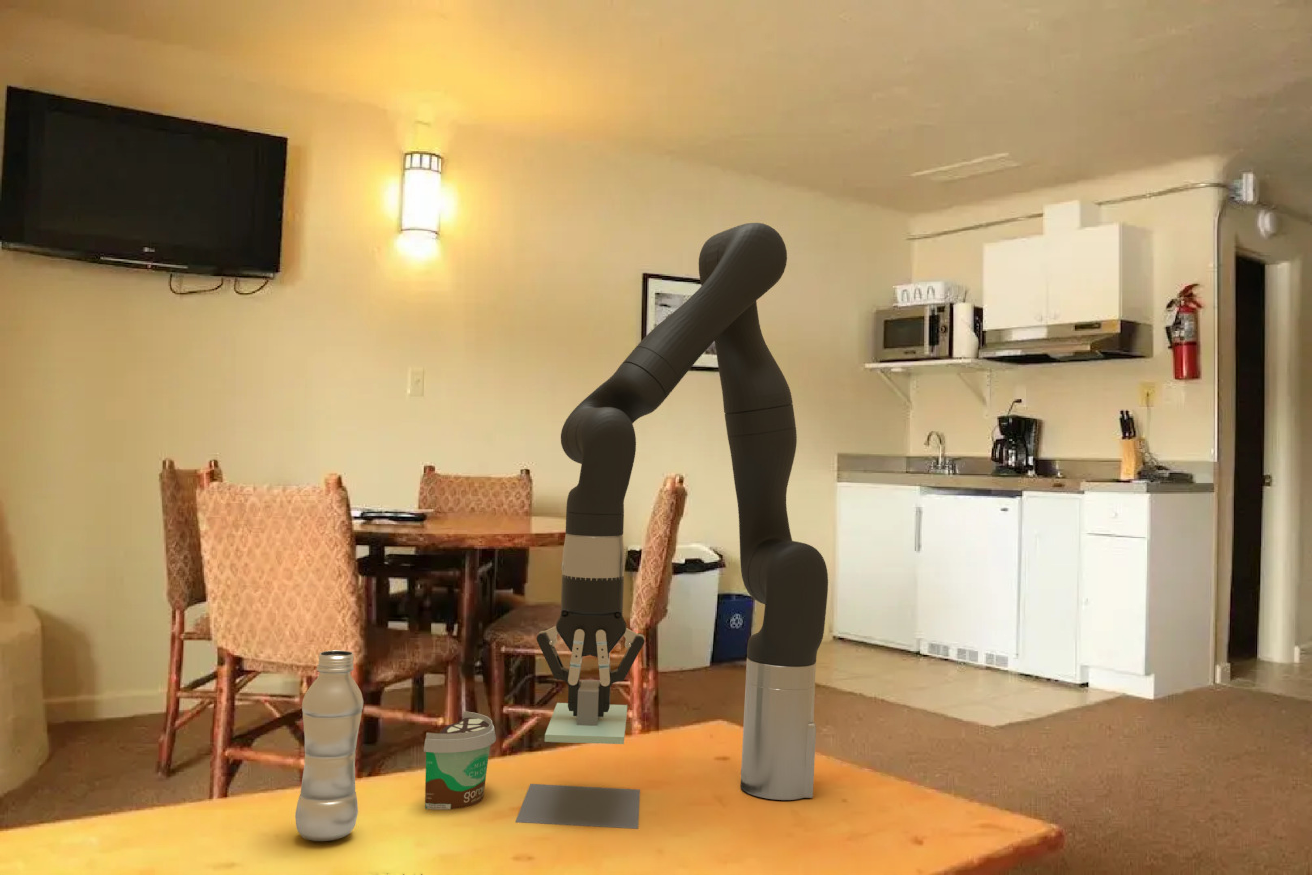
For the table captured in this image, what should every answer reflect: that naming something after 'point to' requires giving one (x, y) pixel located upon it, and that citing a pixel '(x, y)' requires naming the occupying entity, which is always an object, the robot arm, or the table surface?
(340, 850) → the table surface
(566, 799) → the rubber mat
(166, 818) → the table surface
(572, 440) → the robot arm
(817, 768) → the table surface
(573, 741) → the lid
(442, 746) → the food container
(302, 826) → the plastic bottle
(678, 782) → the table surface
